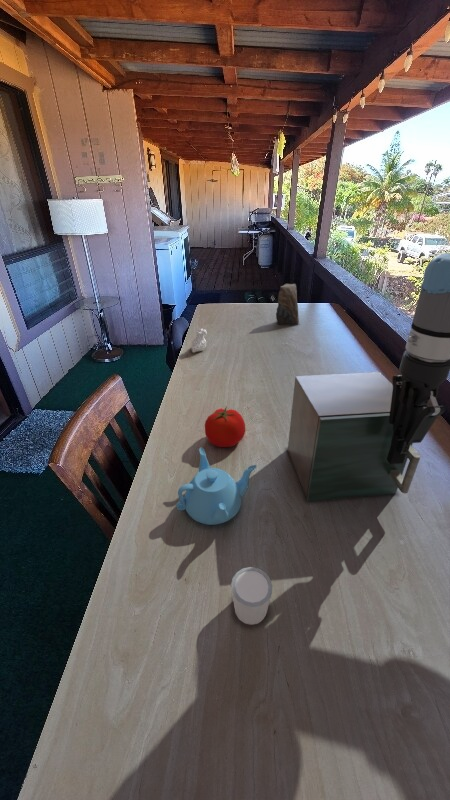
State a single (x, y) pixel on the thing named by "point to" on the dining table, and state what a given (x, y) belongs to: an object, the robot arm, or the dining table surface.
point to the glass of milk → (251, 594)
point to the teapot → (213, 493)
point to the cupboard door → (357, 459)
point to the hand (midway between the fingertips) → (394, 461)
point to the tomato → (224, 427)
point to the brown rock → (287, 305)
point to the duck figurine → (199, 341)
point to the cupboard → (330, 409)
